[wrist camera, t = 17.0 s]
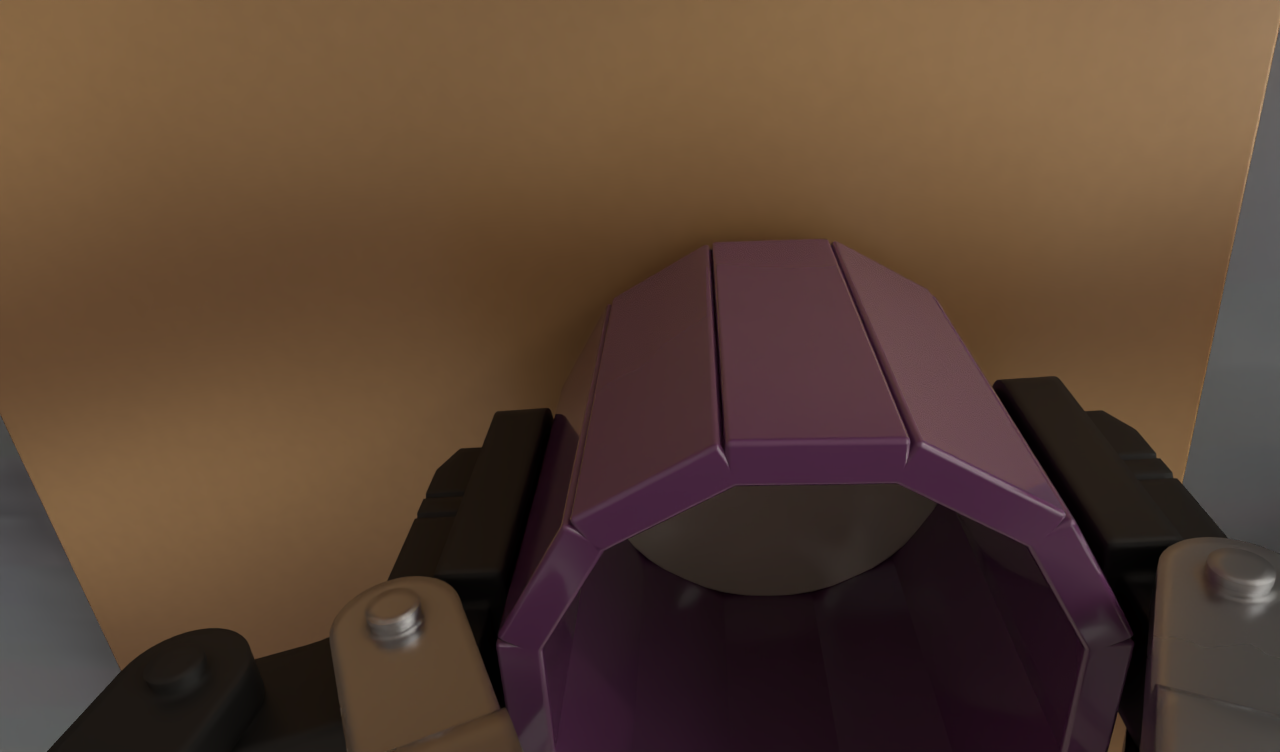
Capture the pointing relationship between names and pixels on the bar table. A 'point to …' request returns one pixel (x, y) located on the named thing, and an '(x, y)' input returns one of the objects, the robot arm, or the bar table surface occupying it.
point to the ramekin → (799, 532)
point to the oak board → (545, 237)
